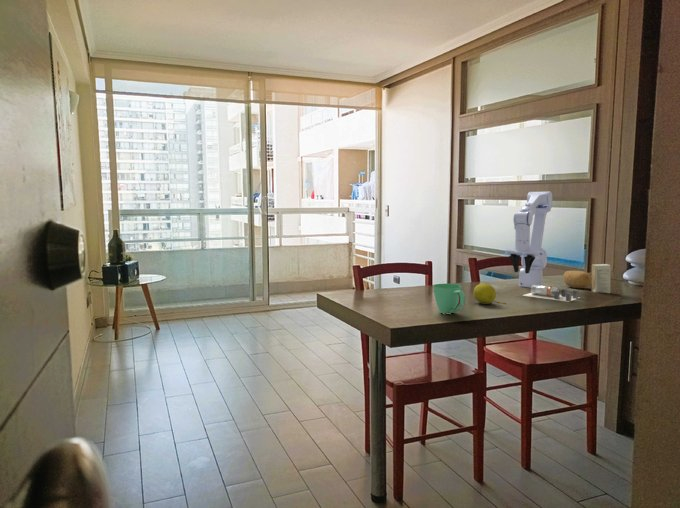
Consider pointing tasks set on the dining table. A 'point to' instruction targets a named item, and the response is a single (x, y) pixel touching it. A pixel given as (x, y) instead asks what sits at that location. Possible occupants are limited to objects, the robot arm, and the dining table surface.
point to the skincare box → (601, 278)
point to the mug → (449, 297)
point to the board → (549, 297)
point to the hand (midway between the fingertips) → (521, 272)
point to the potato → (577, 279)
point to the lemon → (484, 293)
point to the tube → (543, 290)
